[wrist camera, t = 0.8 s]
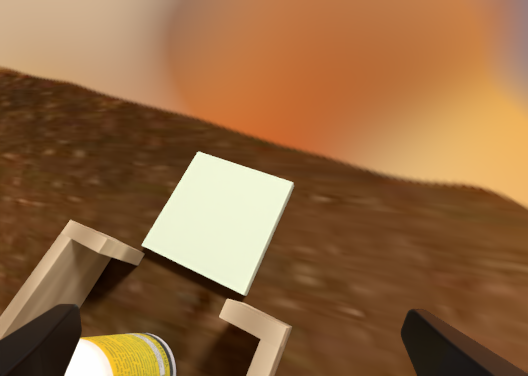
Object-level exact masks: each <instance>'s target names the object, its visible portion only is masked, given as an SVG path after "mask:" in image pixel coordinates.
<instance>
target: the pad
mask: <svg viewBox="0 0 528 376" xmlns="http://www.w3.org/2000/svg"><path fill="white" fill-rule="evenodd" d="M293 188H294V184H293V182H290V181H287V180H284V179H281V178H278V177H275V176H272V175H269V174H266V173H263V172H260V171H256V170H253V169H250V168H247V167H244V166H241V165H238V164H235V163H232V162H229V161H226V160H223V159H220V158H217V157H213V156H210V155H207V154H204V153H201V152H197V154H196V156H195V157H194V159H193V161H192V162H191V164H190V166H189V167H188V169H187V171H186V172H185V174H184V176H183V177H182V179H181V181H180V182H179V184H178V186H177V187H176V189H175V191H174V192H173V194H172V195H171V197H170V199H169V200H168V202H167V204H166V205H165V207H164V209H163V210H162V212H161V214H160V215H159V217H158V219H157V220H156V222H155V224H154V225H153V227H152V229H151V230H150V232H149V234H148V235H147V237H146V238H145V240H144V242H143V243H142V246H144V247H146V248H148V249H150V250H152V251H154V252H156V253H158V254H160V255H162V256H164V257H166V258H168V259H171V260H173V261H175V262H177V263H179V264H181V265H183V266H185V267H187V268H189V269H191V270H193V271H195V272H197V273H199V274H201V275H203V276H205V277H208V278H210V279H212V280H214V281H216V282H218V283H220V284H222V285H224V286H226V287H228V288H230V289H232V290H234V291H236V292H238V293H240V294H242V295H245V296H246V295H247V293H248V291H249V289H250V286H251V284H252V282H253V279H254V277H255V275H256V273H257V270H258V268H259V266H260V263H261V261H262V259H263V257H264V254H265V252H266V250H267V247H268V245H269V243H270V241H271V238H272V236H273V234H274V231H275V229H276V227H277V225H278V222H279V220H280V218H281V215H282V213H283V211H284V208H285V206H286V204H287V202H288V199H289V197H290V195H291V192H292V190H293Z"/></svg>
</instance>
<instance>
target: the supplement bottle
mask: <svg viewBox="0 0 528 376" xmlns="http://www.w3.org/2000/svg"><path fill="white" fill-rule="evenodd" d="M65 376H176V365H175V360H174V357H173V354H172V352H171V350H170V348H169V347H168V345H167V344H166V343H165V342H164V341H163V340H162V339H161V338H159V337H157V336H155V335H152V334H148V333H131V334H118V335H107V336H95V337H82V338H80V340H79V342H78V345H77V347H76V349H75V352H74V354H73V357H72V359H71V361H70V364H69V366H68V368H67V371H66V373H65Z"/></svg>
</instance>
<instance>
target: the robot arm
mask: <svg viewBox="0 0 528 376" xmlns="http://www.w3.org/2000/svg"><path fill="white" fill-rule="evenodd" d="M81 331H82V328H81V319H80V311H79V307H78V305H77V304H58V305H56V306H54V307H52V308H51V309H49V310H48V311H46V312H44V313H43V314H41V315H40V316H38V317H36V318H35V319H33V320H32V321H30V322H28V323H27V324H25V325H24V326H22V327H20V328H19V329H17V330H16V331H14V332H12V333H11V334H9V335H8V336H6V337H4V338H3V339H1V340H0V376H65V373H66V371H67V368H68V366H69V364H70V361H71V359H72V357H73V354H74V352H75V349H76V347H77V345H78V342H79V340H80V337H81ZM401 337H402V340H403V343H404V345H405V348H406V350H407V352H408V355H409V357H410V359H411V362H412V364H413V367H414V369H415V371H416V374H417V376H528V374H527V373H526V372H524V371H523V370H521V369H519V368H518V367H516V366H515V365H513V364H511V363H510V362H508V361H507V360H505V359H503V358H502V357H500V356H498V355H497V354H495V353H494V352H492V351H490V350H489V349H487V348H486V347H484V346H482V345H481V344H479V343H478V342H476V341H474V340H473V339H471V338H469V337H468V336H466V335H465V334H463V333H461V332H460V331H458V330H457V329H455V328H453V327H452V326H450V325H449V324H447V323H445V322H444V321H442V320H440V319H439V318H437V317H436V316H434V315H432V314H431V313H429V312H428V311H426V310H423V309H411V310H409V311H408V313H407V315H406V318H405V321H404V324H403V326H402V329H401Z"/></svg>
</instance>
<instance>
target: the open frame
mask: <svg viewBox="0 0 528 376" xmlns="http://www.w3.org/2000/svg"><path fill="white" fill-rule="evenodd" d="M144 255H145V253H143V252H141V251H139V250H137V249H135V248H132V247H130V246H128V245H126V244H124V243H122V242H120V241H118V240H116V239H114V238H112V237H110V236H108V235H105V234H103V233H100V232H98V231H96V230H93V229H91V228H89V227H86V226H84V225H81V224H79V223H77V222H74V221H72V220H70V221H69V223H68V224H67V225H66V227H65V228H64V230H63V231H62V232H61V234H60V235H59V236H58V238H57V239H56V241H55V242H54V243H53V245H52V246H51V248H50V249H49V250H48V252H47V253H46V254H45V256H44V257H43V259H42V260H41V261H40V263H39V264H38V266H37V267H36V268H35V270H34V271H33V272H32V274H31V275H30V277H29V278H28V279H27V281H26V282H25V284H24V285H23V286H22V288H21V289H20V290H19V292H18V293H17V295H16V296H15V297H14V299H13V300H12V302H11V303H10V304H9V306H8V307H7V308H6V310H5V311H4V313H3V314H2V315H1V317H0V340H1V339H3V338H4V337H6V336H8V335H9V334H11V333H12V332H14V331H16V330H17V329H19V328H20V327H22V326H24V325H25V324H27V323H28V322H30V321H32V320H33V319H35V318H36V317H38V316H40V315H41V314H43V313H44V312H46V311H48V310H49V309H51V308H52V307H54V306H56V305H58V304H77V305H78V307H79V308H80V307H81V305H82V304H83V302H84V300H85V299H86V297H87V296H88V294H89V293H90V291H91V289H92V288H93V286H94V285H95V283H96V281H97V280H98V278H99V277H100V275H101V274H102V272H103V270H104V269H105V267H106V266H107V264H108V263H109V261H110V259H111V258H112V257H113V258H116V259H119V260H122V261H125V262H128V263H131V264H134V265H139V263H140V261H141V260H142V258H143V256H144ZM219 317H220V318H222V319H224V320H226V321H228V322H229V323H231V324H233V325H235V326H237V327H239V328H241V329H243V330H245V331H246V332H248V333H250V334H252V335H254V336H256V337H258V338H260V339H261V340H260V342H259V345H258V347H257V350H256V352H255V355H254V357H253V360H252V362H251V365H250V367H249V370H248V372H247V375H246V376H274V375H275V372H276V370H277V367H278V364H279V362H280V359H281V356H282V353H283V351H284V348H285V345H286V342H287V340H288V337H289V334H290V332H291V329H292V326H290V325H288V324H286V323H284V322H282V321H280V320H278V319H276V318H274V317H272V316H269V315H267V314H265V313H263V312H261V311H259V310H257V309H255V308H253V307H251V306H249V305H247V304H245V303H242V302H238V301H235V300H231V299H227V300H226V303H225V305H224V307H223V309H222V311H221V313H220V316H219Z"/></svg>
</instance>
